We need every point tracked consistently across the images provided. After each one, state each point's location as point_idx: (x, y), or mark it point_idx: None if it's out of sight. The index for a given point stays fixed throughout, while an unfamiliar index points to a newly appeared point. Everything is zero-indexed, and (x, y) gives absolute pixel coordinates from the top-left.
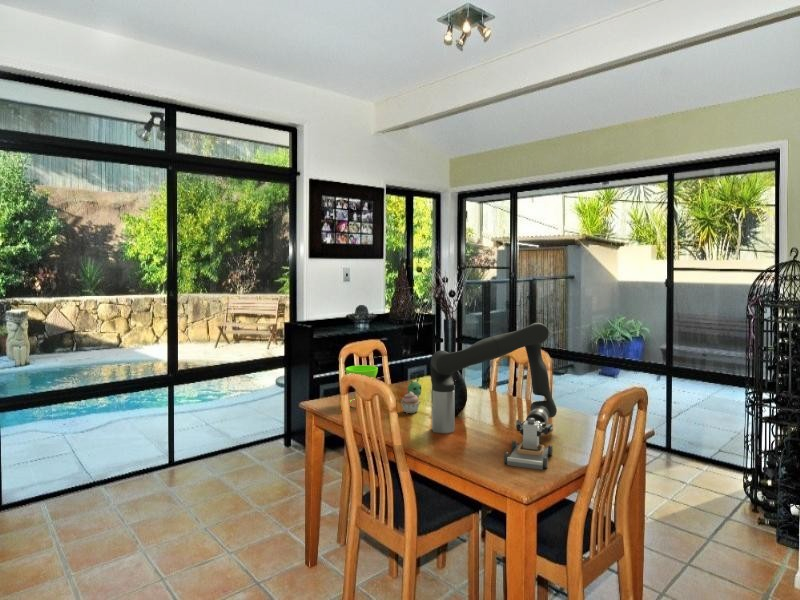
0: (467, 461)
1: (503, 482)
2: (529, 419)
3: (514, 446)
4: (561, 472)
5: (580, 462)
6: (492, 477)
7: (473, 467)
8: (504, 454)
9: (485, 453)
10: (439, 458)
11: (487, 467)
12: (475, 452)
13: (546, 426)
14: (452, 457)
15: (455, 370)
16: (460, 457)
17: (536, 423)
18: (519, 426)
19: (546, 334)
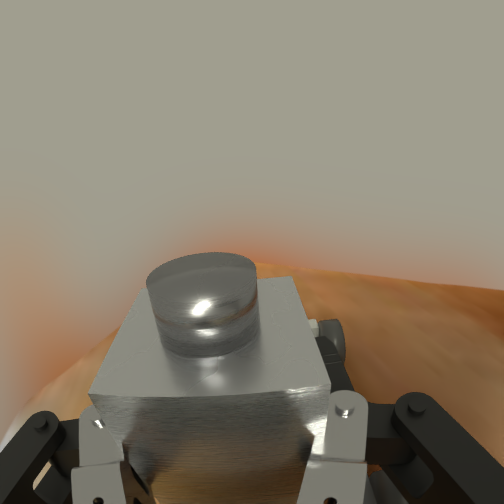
0: (441, 310)
1: (270, 270)
2: (222, 255)
3: (373, 473)
4: (102, 356)
5: (3, 448)
6: (309, 276)
7: (393, 293)
8: (335, 319)
9: (465, 389)
10: (501, 291)
11: (361, 307)
12: (496, 372)
13: (29, 450)
14: (492, 308)
15: None
16: (481, 318)
17: (140, 328)
18: (386, 404)
19: None
